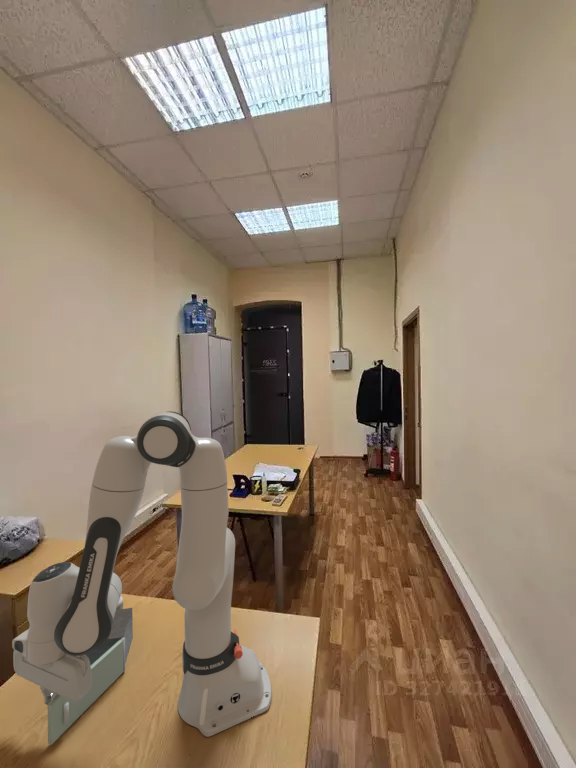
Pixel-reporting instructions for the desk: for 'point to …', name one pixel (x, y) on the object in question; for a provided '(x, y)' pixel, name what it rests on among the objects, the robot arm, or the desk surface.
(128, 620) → the cabinet box
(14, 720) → the desk surface
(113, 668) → the side door
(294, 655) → the desk surface
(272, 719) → the desk surface
